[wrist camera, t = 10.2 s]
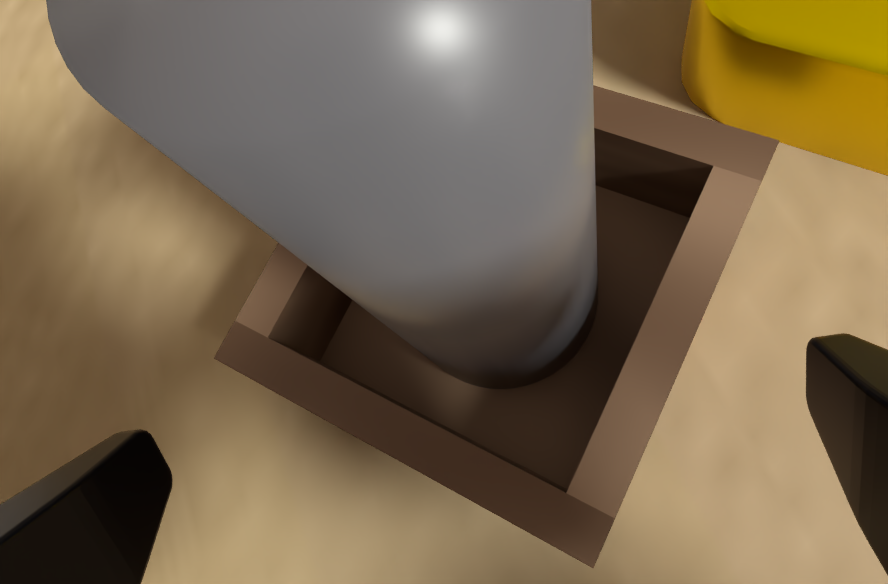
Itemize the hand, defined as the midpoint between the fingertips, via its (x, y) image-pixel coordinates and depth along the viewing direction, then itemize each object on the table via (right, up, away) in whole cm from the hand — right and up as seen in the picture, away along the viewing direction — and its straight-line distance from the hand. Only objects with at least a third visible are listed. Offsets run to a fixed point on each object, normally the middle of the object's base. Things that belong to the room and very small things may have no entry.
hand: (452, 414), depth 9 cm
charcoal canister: (+1, +2, +9) cm, 9 cm away
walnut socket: (+2, +1, +10) cm, 10 cm away
